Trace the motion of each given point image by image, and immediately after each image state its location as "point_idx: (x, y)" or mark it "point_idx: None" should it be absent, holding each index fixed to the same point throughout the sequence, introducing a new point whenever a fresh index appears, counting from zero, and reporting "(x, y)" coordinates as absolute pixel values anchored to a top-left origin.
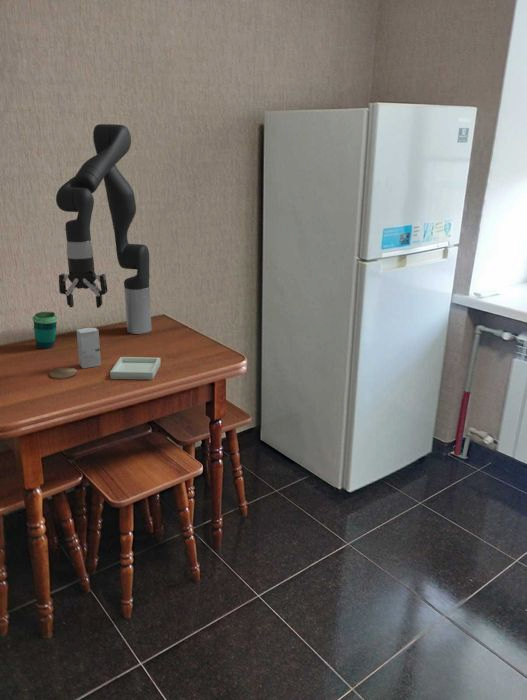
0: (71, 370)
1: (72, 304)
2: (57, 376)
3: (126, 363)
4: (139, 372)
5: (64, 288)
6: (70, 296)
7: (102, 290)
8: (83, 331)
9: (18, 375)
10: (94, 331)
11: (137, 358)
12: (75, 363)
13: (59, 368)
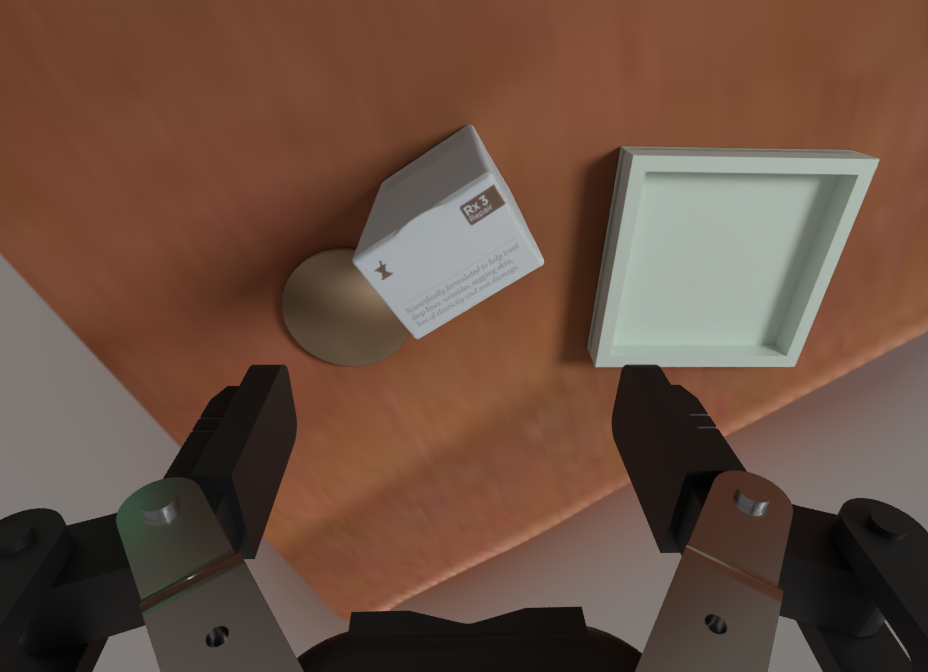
0: None
1: (285, 418)
2: (342, 360)
3: (659, 190)
4: (733, 366)
5: (24, 600)
6: (255, 554)
7: (835, 658)
8: (432, 311)
9: (137, 331)
10: (514, 280)
11: (736, 172)
12: (347, 156)
13: (303, 267)
